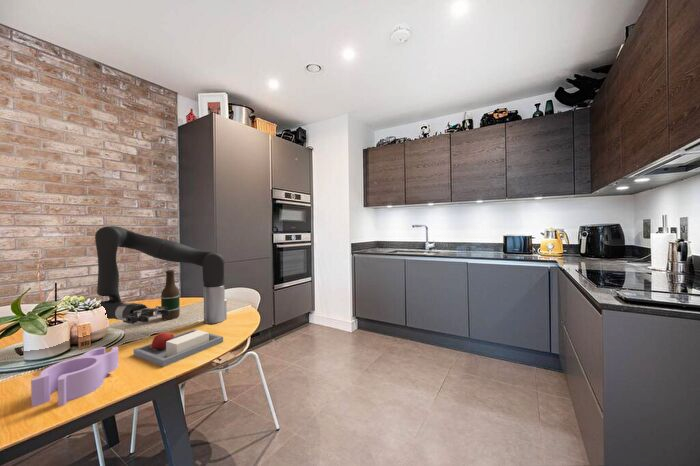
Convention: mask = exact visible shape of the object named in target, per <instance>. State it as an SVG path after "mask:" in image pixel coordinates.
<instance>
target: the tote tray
mask: <svg viewBox="0 0 700 466" xmlns="http://www.w3.org/2000/svg"><path fill="white" fill-rule="evenodd" d="M197 330H198V329H196V328H195V329H190V330H188V331H184V332H181V333H179V334H176V335H175V334H174V337H173V339H175V338H177V337H180V336H183V335H186V334H189V333H192V332H194V331H197ZM208 333H209V341H208V342H205V343H203V344H200V345H198V346H195V347H193V348H190V349H188V350H185V351H182V352H180V353H177V354H175V355H172V356H170V357H168V356H166V348H165V349H162V350H157V349H150V348H149V346H151V345H152V342H151V343H149V344H146V345H142V346H139V347H137V348H135V349H134V348H133V356H134V357H136V358H139V359H142V360H144V361H147V362H150V363H152V364H155V365H157V366H159V367H163V368H164V367H168V366H169V365H172V364H174V363H177V362H179V361H181V360H184V359H186V358H188V357H191V356H194V355H196V354H198V353H200V352H202V351H205V350H208V349H210V348H212V347H215V346H217V345H219V344H222V343H224V336H223V335H222V336H221V335H217V334H213V333H211V332H208Z"/></svg>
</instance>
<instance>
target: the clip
mask: <svg viewBox="0 0 700 466" xmlns="http://www.w3.org/2000/svg"><path fill="white" fill-rule="evenodd" d="M118 368H119V347H118V346H112V348H111V350H110V351H108V352H106V346H101V347H97V348H94V349H91V350H88V351H86V352H84V353H83V354H82V355H80V356H78V357H74V358H69V359H66V360H63V361H60V362H57V363H55V364H52V365H49V366H47V367H46V368H44V369H43V370H42V371H41V372H39V376H36V377H34V378H31V380H30V390H31V391H30V392H31V394H30V395H31V396H30V398H31V400H30V401H31V408H33V407H34V406H35V407H37V406H40V405H43V404H46V403H47V402H50V401H51V394H53V393H54V392H55V391H57V403H58V404H57V406H58V407H62V406H65V405H66V404H67V403H68V402H70V401H74V400H77V399H80V398H83V397H84V396H87V395H89V394H91V393H94V392H95V391H96V390H98V389H100V388H101V387H102V385H103V384H104V379H106V378H108V377H109V376H111V375H112V374H111V372H113V371H115V370H117V369H118Z"/></svg>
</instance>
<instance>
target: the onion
mask: <svg viewBox="0 0 700 466" xmlns="http://www.w3.org/2000/svg"><path fill="white" fill-rule="evenodd" d="M174 336H175V334H174V333H173V332H165V331H164V332H159V333H157V335H156V336H155V337H154V338H153V339H152V341H151V343H152V345H151V346H149V348H150V349H157V350H162V349H165V348H166V341H169V340H172V339H173V337H174Z"/></svg>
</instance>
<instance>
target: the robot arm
mask: <svg viewBox="0 0 700 466" xmlns="http://www.w3.org/2000/svg"><path fill="white" fill-rule="evenodd" d="M94 239H95V240H94V241H95V247H96V255H97V283H96V285H97V286H96V294H97V295H98V296H99V297H108V300H104V301H100V302H101V303H100V304H101V306H103V307H104V308H105V310H106V313H105V315H106V314H107V318H108V319H107V320H113V319H114V320H119V321H122V322H123V323H125V324H131V325H133V324H138V323H146V324H147V323H149V322H150V318H156V317H158V316H161V315H165V316H169V315H170V310H167V308H168V307H161V306H160V305H159V306H158V305H157V306H155V307H148V306H147V305H145V304H143V303H138V302H137V303H136V302H122V300H121V296H120V291H119V283H120V274H119V268H118V264H117V253H118V252H117V251H118V248H125V249H130V250H135V251H138V252H141V253H143V254H145V255H147V256H150V257H152V258H153V259H154V258H156V259H159V260H163V261H166V262H174V263H182V264H183V263H184V264H193V265H196V266H200V267H202V283H203V323H205V324H207V325H208V324H219V323H222V322H223V321H225V320H227V315H228V314H227V313H228V312H227V311H228V310H227V299H226V297H225V260H226V259H225V257H224V256H223V254H221V253H219V252H215V251H208V250H203V249H198V248H195V247H192V246H189V245H186V244H183V243H180V242H177V241H173V240H169V239H165V238H160V237H156V236H152V235H151V236H150V235H144V234H140V233H137V232H134V231H131V230H128V229H126V228H124V227H120V226H118V225H117V226H116V225H114V226H113V225H110V226H108V225H107V226H103V227H100V228H98V230H97V231H96V233H95V235H94Z"/></svg>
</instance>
